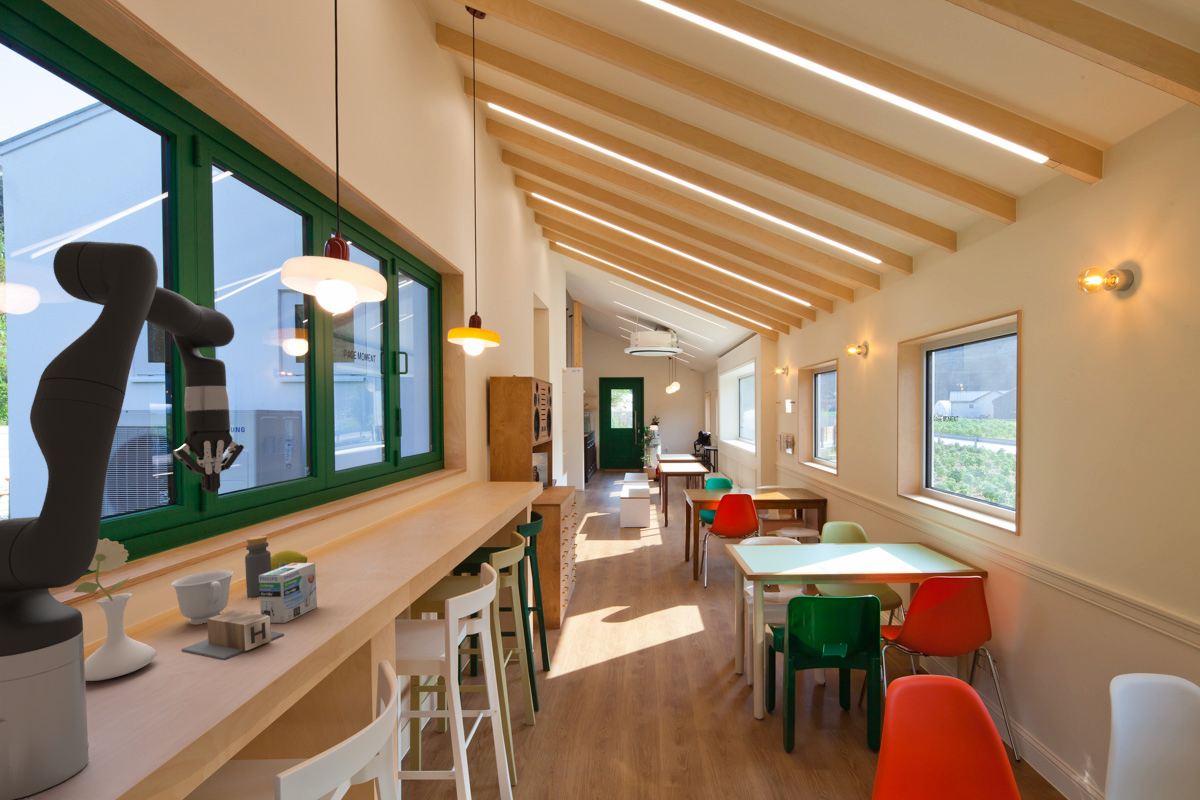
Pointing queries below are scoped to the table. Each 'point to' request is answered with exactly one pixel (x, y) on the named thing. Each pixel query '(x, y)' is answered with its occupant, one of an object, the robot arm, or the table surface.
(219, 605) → the teacup
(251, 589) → the bottle
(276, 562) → the lemon
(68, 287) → the robot arm
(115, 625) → the flower in vase
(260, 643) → the walnut block
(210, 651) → the slate mat
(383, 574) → the table surface
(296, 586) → the light bulb box
